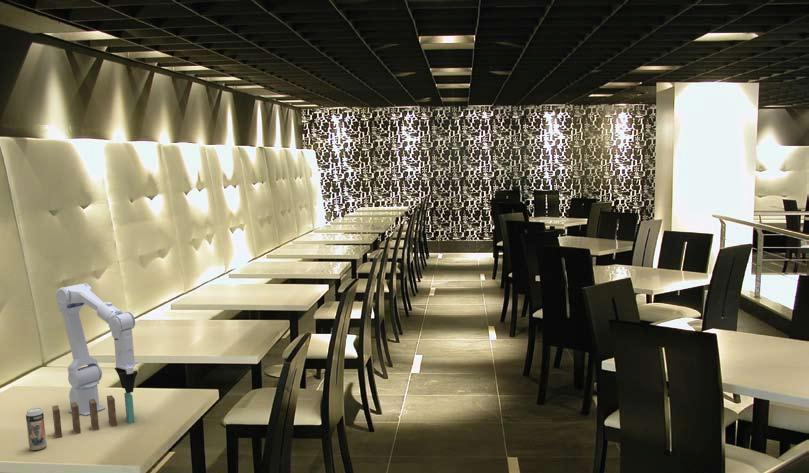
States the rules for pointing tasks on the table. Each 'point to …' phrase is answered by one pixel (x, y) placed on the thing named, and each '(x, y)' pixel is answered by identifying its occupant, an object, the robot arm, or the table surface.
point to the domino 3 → (93, 414)
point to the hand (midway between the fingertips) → (127, 390)
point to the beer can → (36, 429)
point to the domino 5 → (129, 407)
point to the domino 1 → (57, 421)
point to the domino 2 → (75, 417)
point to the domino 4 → (111, 411)
